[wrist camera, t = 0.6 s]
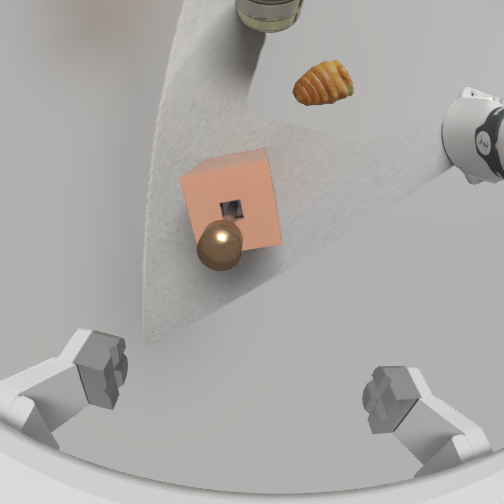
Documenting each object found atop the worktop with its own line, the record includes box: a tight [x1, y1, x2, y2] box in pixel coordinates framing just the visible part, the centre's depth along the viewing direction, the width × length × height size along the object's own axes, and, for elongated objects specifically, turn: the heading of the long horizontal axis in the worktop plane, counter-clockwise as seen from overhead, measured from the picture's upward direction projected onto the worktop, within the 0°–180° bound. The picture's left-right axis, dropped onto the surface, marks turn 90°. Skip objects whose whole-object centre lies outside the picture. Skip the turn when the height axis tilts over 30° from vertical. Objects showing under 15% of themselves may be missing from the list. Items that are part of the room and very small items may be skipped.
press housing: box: [180, 148, 282, 251], centre depth 42 cm, size 10×10×16 cm
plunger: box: [197, 199, 244, 271], centre depth 31 cm, size 8×8×13 cm
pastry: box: [293, 60, 354, 106], centre depth 41 cm, size 9×7×4 cm
